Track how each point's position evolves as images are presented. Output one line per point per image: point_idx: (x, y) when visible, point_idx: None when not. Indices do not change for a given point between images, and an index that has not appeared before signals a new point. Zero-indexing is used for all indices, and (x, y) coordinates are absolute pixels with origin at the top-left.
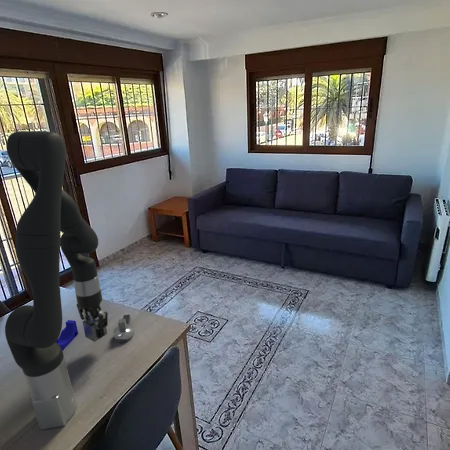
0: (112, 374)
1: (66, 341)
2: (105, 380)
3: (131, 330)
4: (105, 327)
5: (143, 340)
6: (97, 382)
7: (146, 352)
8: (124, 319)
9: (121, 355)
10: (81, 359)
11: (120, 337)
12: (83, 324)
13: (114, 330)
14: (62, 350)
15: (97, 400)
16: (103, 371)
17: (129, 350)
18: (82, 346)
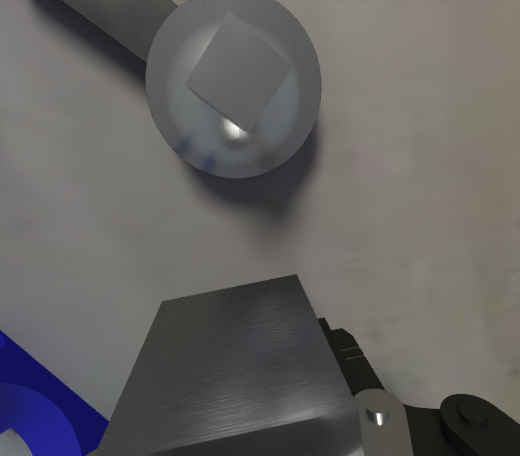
0: (458, 299)
1: (42, 404)
2: (459, 333)
3: (298, 38)
4: (316, 322)
5: (393, 19)
6: (438, 360)
7: (499, 81)
8: (237, 29)
9: (387, 208)
10: None
11: (293, 153)
12: None
13: (182, 149)
14: (96, 415)
15: (513, 387)
16: (405, 320)
17: (392, 151)
18: (136, 333)
